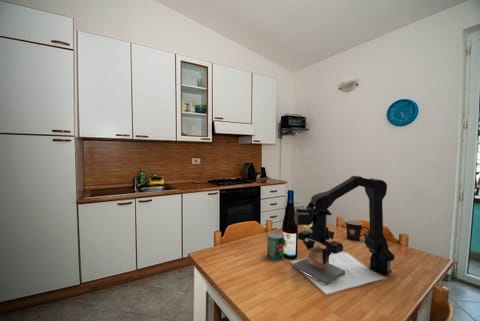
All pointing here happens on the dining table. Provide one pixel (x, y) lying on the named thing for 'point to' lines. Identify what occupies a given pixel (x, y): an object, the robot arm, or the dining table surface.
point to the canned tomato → (275, 246)
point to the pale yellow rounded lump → (307, 228)
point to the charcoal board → (319, 271)
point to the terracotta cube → (316, 257)
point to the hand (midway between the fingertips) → (318, 260)
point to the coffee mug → (354, 230)
